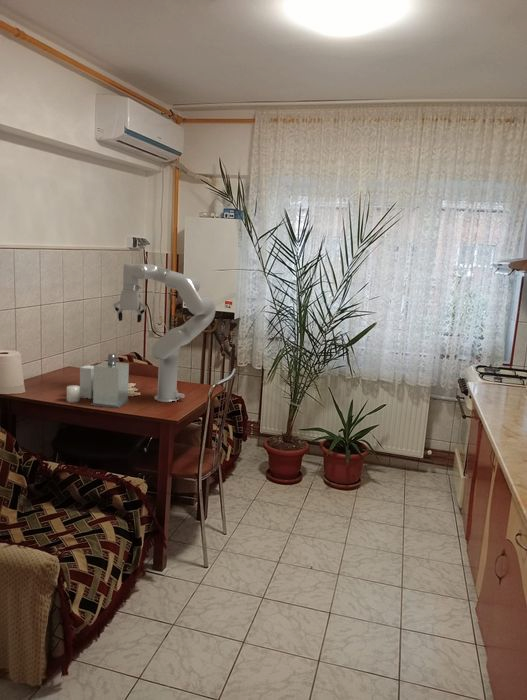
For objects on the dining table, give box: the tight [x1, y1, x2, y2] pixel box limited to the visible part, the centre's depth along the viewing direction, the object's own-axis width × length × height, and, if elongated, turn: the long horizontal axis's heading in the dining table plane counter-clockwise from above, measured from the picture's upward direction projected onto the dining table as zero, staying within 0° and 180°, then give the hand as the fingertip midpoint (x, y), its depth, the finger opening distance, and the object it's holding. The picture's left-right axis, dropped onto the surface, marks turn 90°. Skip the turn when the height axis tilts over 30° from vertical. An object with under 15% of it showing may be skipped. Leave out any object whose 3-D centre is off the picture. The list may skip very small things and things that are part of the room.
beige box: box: [92, 353, 130, 406], centre depth 261 cm, size 12×13×23 cm
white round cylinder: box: [66, 384, 81, 403], centre depth 262 cm, size 6×6×7 cm
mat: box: [90, 398, 130, 409], centre depth 262 cm, size 14×14×1 cm
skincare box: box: [79, 364, 95, 400], centre depth 270 cm, size 8×7×16 cm
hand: (129, 321), depth 276 cm, fingers open, 9 cm apart
